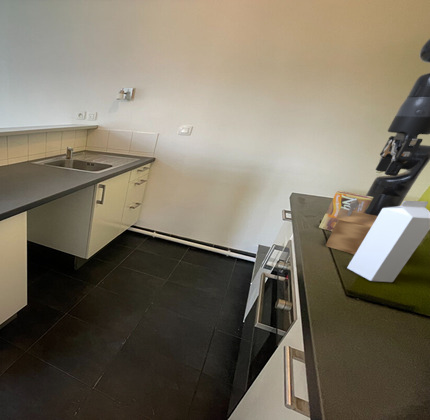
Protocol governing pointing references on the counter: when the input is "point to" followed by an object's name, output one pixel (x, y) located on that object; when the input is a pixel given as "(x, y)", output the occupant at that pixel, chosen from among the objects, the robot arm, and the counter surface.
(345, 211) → the lid
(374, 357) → the counter surface
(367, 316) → the counter surface
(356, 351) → the counter surface
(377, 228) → the milk
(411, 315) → the counter surface
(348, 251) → the bread box
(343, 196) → the candy box
